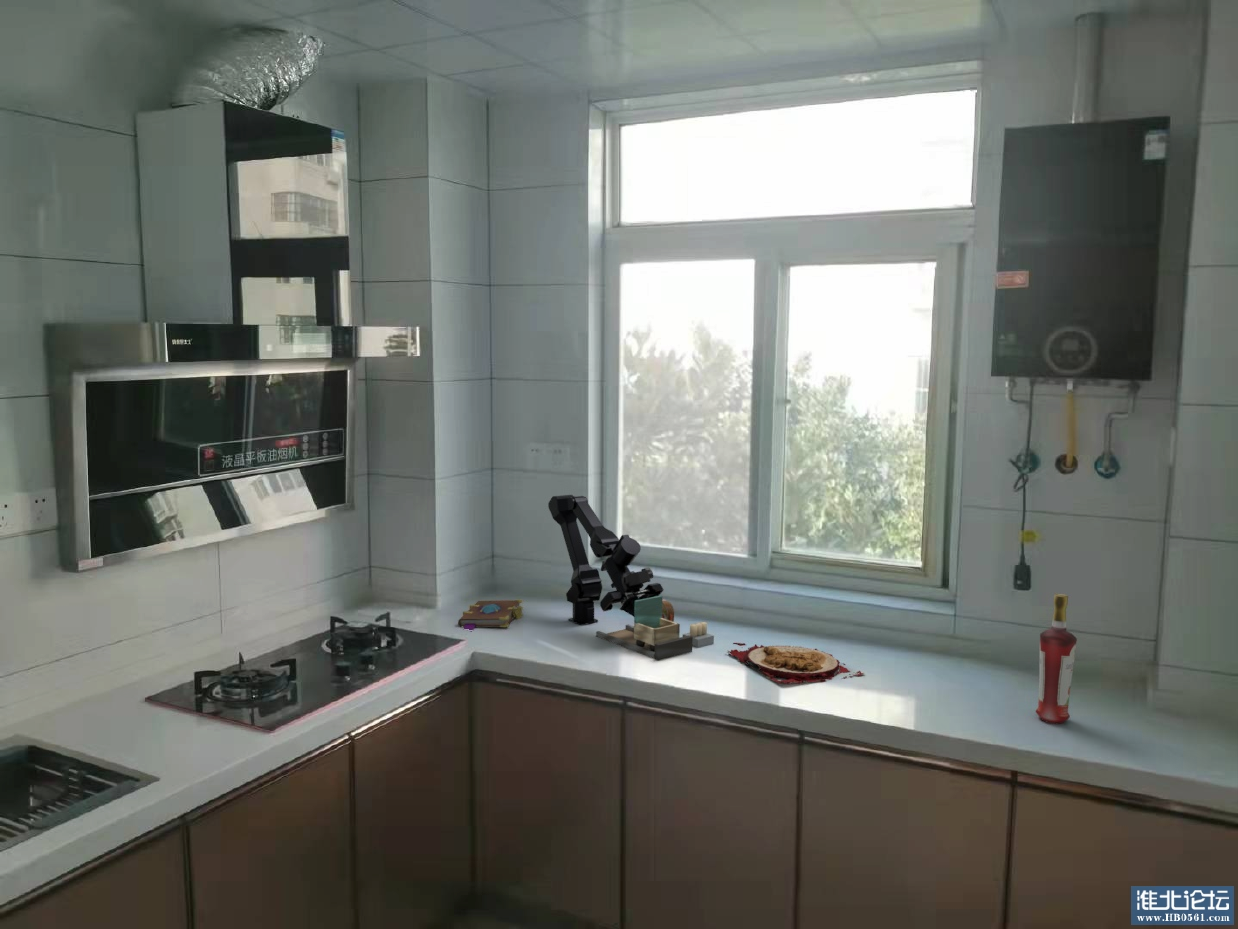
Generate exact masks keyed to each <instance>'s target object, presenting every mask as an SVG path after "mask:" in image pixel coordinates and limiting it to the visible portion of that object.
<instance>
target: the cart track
mask: <svg viewBox="0 0 1238 929" xmlns="http://www.w3.org/2000/svg"><path fill="white" fill-rule="evenodd" d="M595 637H597V638H600V639H602V640H604V641H608V642H609V643H613V644H615V645H617V646H620V647H622V648H625V649H628V650H629V651H633V652H636V653H637V654H641V655H644V656H646V657H648V658H650V659H653V660H656V661H662V660H665V659H670V658H673V657H677V656H681V655H684V654H685V655H686V654H689V653H692V652H693V646H692V642H693V637H692V636H689V635H688V636H684V637H683V636H681V637H680V636H679V638H676V639H672V640H668V641H664V642H660V643H656V644H655V652H653V651H651V650H650V645H651V644H648V643H645V646H644V647H640V646H637V644H636V640H637V639H635V638H634V625H631V624H625V629H620V630H615V631H611V632H603V631H601V630H598V631H597V630H596V631H595Z"/></svg>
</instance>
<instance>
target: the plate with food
mask: <svg viewBox="0 0 1238 929" xmlns="http://www.w3.org/2000/svg"><path fill="white" fill-rule="evenodd" d="M732 645H736V646H740V647H741V649H743V646H746V643H744V642H742V643H741V642H733V643H732ZM727 652H728V653H729V654H730V655H731V657H736V658H737V659H738V660H737V661H738V662H739V663H744V664H746V665H748V666H749V667H750V668H751V669H754V667H753V666H752V664H751V663H753V664H755V665H756V666H758V668H759V670H760V671H759V670H757V671H756V672H758V673H759V674H761V675H762V676H764V678H766V679H767V680H772V681H773V682H776V683H778V684H784V685H790V684H793V683H796V684H804V683H806V682H807V683H815V682H821V681H822V682H821V683H825V682H827V681H826V680H831V681H832V680H833V679H834V678H835V677H836V676H838V675H840V674H846V673H847V674H848V673H849V676H843V677H842V678H841V680H842V679H848V678H852V677H853V676H856V675H857V676H862V675H863V674H865V672H862V671H860V670H857V671H856V673H855V672H854V674H853V675H851V671H850V670H848V668H847V667H844V666H846V664H845V663H842V664H840V661H839V660H838V659H837V658H835V657H833V654H830V653H828V652H827V653H826V652H825V651H821V650H819V649H817V648H813V649H812V648H808V647H804V646H803V647H802V646H794V645H793V646H791V645H772V646H771V645H768V646H764V645H762V644H761V645H760V646H758V644H754V645H753V646H751V647H748V648H747V650H740V651H739V650H738V649H736V648H735V649H731V650H730V651H729V650H727ZM749 662H751V663H749ZM842 665H843V666H842ZM838 669H839V670H838ZM778 679H781V680H778Z"/></svg>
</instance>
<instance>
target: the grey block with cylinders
mask: <svg viewBox="0 0 1238 929" xmlns="http://www.w3.org/2000/svg"><path fill="white" fill-rule="evenodd" d="M707 628H708V623H707V622H706V621H701V622H696V623H693V624H689V632H685V633H682V637H684V636H688V635H689V636H692V637H693V642H692V647H695V648H702V647H707V646H710V645H714V643H715V641H714V640H715V639H714V638H715V635H713V634H710V633H709V632H708V631H707V630H708V629H707Z"/></svg>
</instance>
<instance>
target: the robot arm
mask: <svg viewBox="0 0 1238 929" xmlns="http://www.w3.org/2000/svg"><path fill="white" fill-rule="evenodd" d="M547 507H548V510H549V512H550V514H551V517H552V519H553V520H554V521H555V522H556V523H557V524H558V525H559V526H560V527H561V532H562V535H563V540H564V542H565V546H566V549H567V550H566V551H567V553H568V556H569V560H570V564H571V567H572V570H573V571H572V576H571V579H570V583H571V586H570V588H569V590H568V591H566V593H565V596H566V601H567V602H569V603H571V604H572V617H569V618H568V621H569V622H572V623H575V624H577V625H580V626H583V625H587V624H592V623H597V622H599V619H597V618H595V604H594V603H595V601H600V602H599V605H600V606H599V607H600V609H601V610H602V611H603V612H607V611H612V609H613V606H614V605H613V604H619V603H620V604H621V607H620V608H619V610H620V611H624V612H625V613H627V614H628V615H630V616H632V617H633V618H634V608H635V601H636V600H641V599H646V598H651V597H655V596H661V594H662V593H663V592H664V588H663V586H662V584H661V583H659V582H655V583H650V582H651V579H653V578H654V573H653V570H652V569H651V567H649V566H648V567H647V566H646V567H644V568H642V569H641V570H639V571H636V572H635V571H634V570H632V571H631V570H630V568H629V566H630V565H631V564H632V563H633V562H634V560H635V558H636V557H637V556H638V555H639V553H640V552H641V545H640V544H641V543H639V542H638V541H637V540H636V539H635V538H632V537H631V536H630V535H629V534H622V535H621V536H620V538H619V537H618V536H617V535H616V534H615V533H614V532H613V531H611V530H610V529H608V528H606V527H605V526H604V524H603V523H602V521H600V518H599V517H598V516H597V515H596V514H597V513H596V512H595V511H594V510H593V509H592V507H591V506H590V503H589V500H588V498H587V496H584V495H577V496H575V495H573V494H564V495H563V494H562V495H553V496H552V497H551V498H550V500H549V501H548V506H547ZM577 520H578V521H579V523H580V525H581V526H582V527H583V529H584V530H585V532H586V533H587V535H588V538H589V539H590V540H589V547H590V548H591V551H592V552H593V554H594V556H595V557H596V558H601V559H602V558H606V559H605V560H603V561H601V563H602V564H601V566H600V571H601V572H605V571H606V573H607V575H608V576H609V579H610V580H611V582H612V583H611V584H610V588H612V589H615V590H612V591H607V593H606V594H605V595H603V597H602V599H601V595H602V590H603V584H602V581H603V580H602V579H601V577H600V573H599V570H598V568H593V567H591V565H590V563H589V560H588V556H587V552H586V549H585V545H584V542H583V539H582V535H581V533H580V529H579V524H578V521H577ZM646 583H650V584H647V586H645V588H644V589H643V590H641V589H642V588H643V587H644V584H646ZM600 599H601V600H600Z"/></svg>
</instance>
